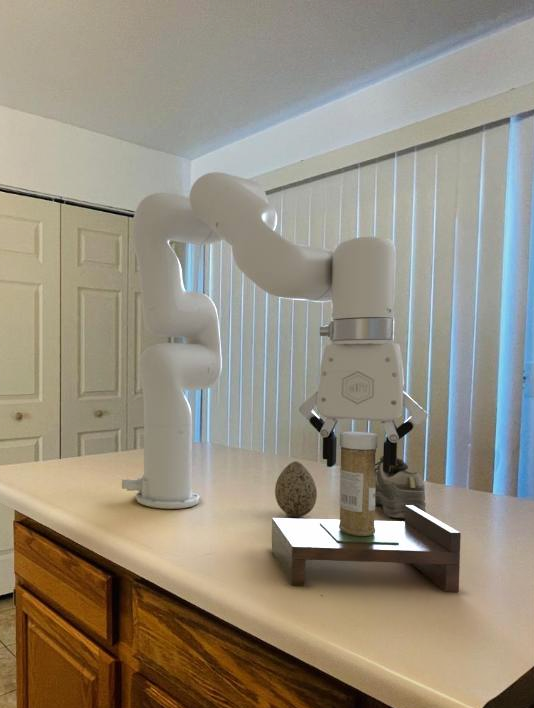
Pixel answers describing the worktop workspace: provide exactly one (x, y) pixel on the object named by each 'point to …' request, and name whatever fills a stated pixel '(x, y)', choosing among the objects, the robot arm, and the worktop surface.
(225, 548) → the worktop surface
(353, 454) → the sprinkles bottle
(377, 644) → the worktop surface
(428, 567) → the shelf
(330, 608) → the worktop surface
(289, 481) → the decorative egg
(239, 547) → the worktop surface
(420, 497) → the hiking shoe
